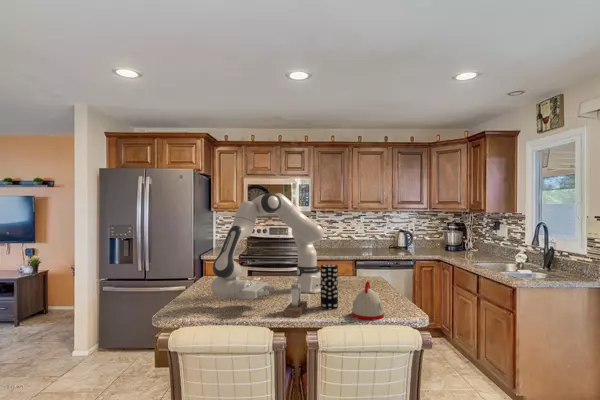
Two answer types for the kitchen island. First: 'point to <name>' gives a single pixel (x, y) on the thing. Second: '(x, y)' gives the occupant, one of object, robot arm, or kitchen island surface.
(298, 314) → the brown slotted block
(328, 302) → the spotted tube
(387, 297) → the kitchen island surface
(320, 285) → the robot arm
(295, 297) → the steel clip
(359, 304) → the kitchen timer
